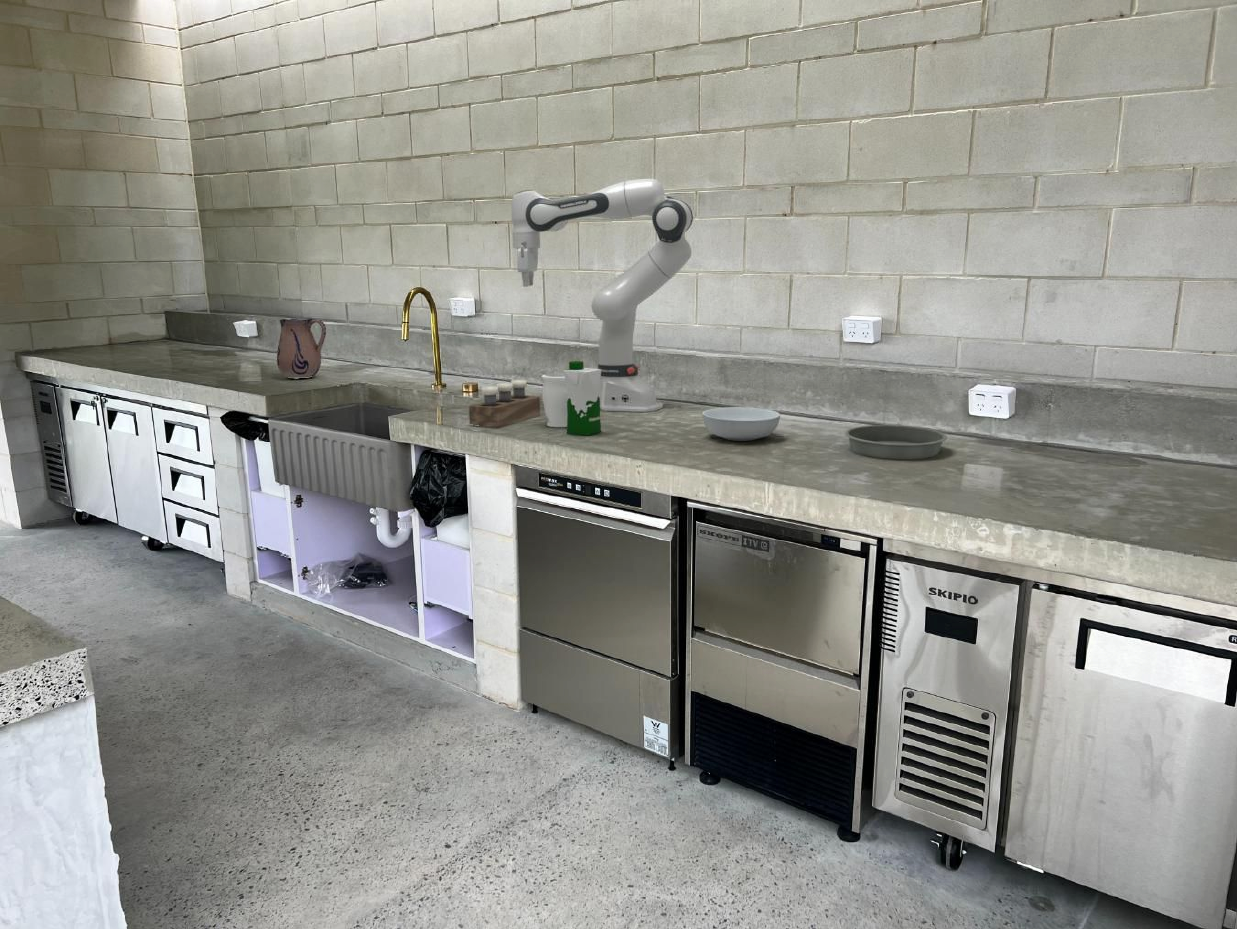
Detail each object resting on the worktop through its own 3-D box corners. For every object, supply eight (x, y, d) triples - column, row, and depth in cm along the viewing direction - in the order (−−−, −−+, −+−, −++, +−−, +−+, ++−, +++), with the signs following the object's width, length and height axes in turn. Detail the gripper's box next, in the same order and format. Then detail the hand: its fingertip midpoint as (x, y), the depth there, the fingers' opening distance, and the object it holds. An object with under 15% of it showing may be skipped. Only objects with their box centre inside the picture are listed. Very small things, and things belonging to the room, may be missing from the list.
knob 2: (530, 400, 292) (529, 379, 290) (521, 402, 287) (521, 381, 286) (517, 399, 294) (516, 379, 292) (508, 401, 289) (507, 381, 288)
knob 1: (501, 408, 278) (501, 386, 276) (492, 410, 273) (492, 388, 272) (488, 407, 280) (487, 385, 278) (479, 409, 275) (478, 387, 274)
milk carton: (579, 429, 269) (578, 359, 264) (606, 431, 264) (604, 361, 260) (562, 434, 262) (560, 363, 257) (588, 436, 257) (587, 364, 252)
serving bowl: (726, 448, 240) (727, 422, 238) (688, 434, 258) (688, 410, 257) (794, 441, 248) (795, 415, 246) (753, 428, 266) (753, 404, 265)
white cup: (551, 429, 268) (550, 378, 265) (537, 424, 277) (536, 374, 274) (584, 426, 273) (583, 375, 270) (570, 421, 282) (569, 371, 279)
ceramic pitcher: (284, 376, 400) (278, 317, 395) (334, 375, 402) (329, 316, 397) (274, 381, 383) (268, 320, 378) (326, 380, 385) (321, 319, 380)
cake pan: (838, 457, 227) (838, 439, 226) (850, 439, 250) (851, 422, 249) (944, 464, 219) (945, 445, 218) (947, 444, 241) (948, 427, 240)
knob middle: (516, 404, 285) (515, 383, 283) (507, 406, 280) (506, 385, 279) (503, 403, 287) (502, 382, 285) (494, 405, 282) (493, 384, 281)
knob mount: (540, 415, 293) (539, 396, 292) (498, 428, 272) (497, 407, 271) (513, 413, 297) (512, 394, 296) (469, 425, 276) (468, 405, 275)
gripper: (531, 241, 290) (533, 286, 293) (540, 242, 310) (541, 285, 313) (511, 242, 291) (513, 287, 294) (521, 243, 311) (523, 285, 314)
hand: (528, 286), depth 304 cm, fingers open, 8 cm apart
